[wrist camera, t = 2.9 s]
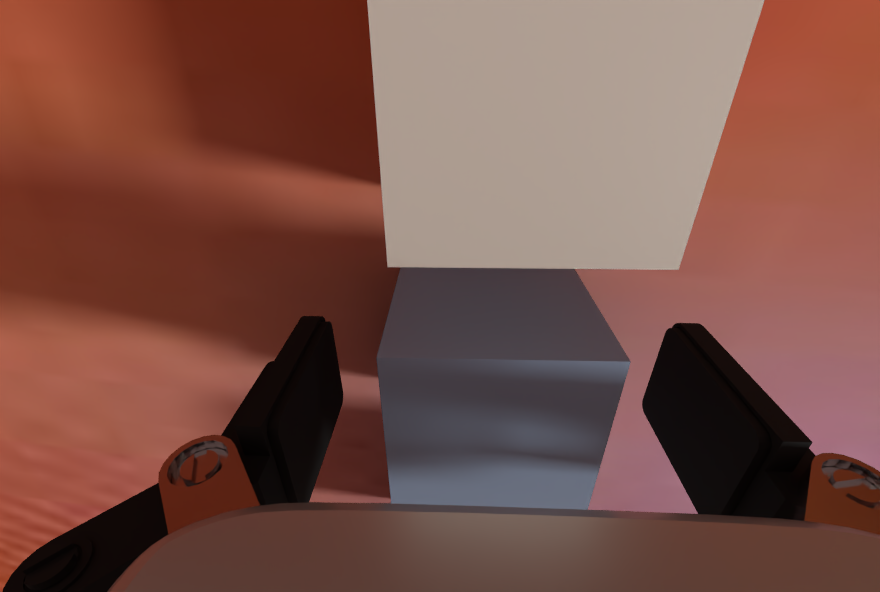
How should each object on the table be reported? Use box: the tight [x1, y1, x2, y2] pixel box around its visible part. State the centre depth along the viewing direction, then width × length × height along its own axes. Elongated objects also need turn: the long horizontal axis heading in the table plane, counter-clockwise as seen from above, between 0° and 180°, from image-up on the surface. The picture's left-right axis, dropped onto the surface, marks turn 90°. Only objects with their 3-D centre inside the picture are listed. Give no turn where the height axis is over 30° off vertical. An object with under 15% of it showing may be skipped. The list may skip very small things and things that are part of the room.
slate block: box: [377, 267, 630, 510], centre depth 11 cm, size 5×5×5 cm
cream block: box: [367, 0, 764, 270], centre depth 8 cm, size 5×5×5 cm
